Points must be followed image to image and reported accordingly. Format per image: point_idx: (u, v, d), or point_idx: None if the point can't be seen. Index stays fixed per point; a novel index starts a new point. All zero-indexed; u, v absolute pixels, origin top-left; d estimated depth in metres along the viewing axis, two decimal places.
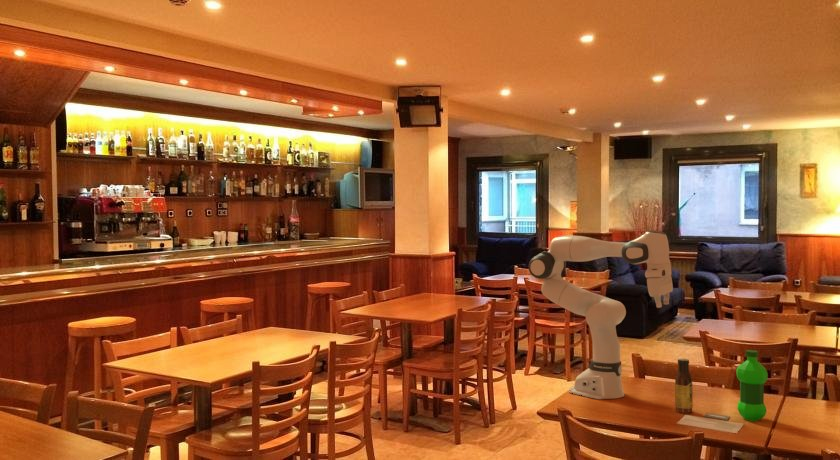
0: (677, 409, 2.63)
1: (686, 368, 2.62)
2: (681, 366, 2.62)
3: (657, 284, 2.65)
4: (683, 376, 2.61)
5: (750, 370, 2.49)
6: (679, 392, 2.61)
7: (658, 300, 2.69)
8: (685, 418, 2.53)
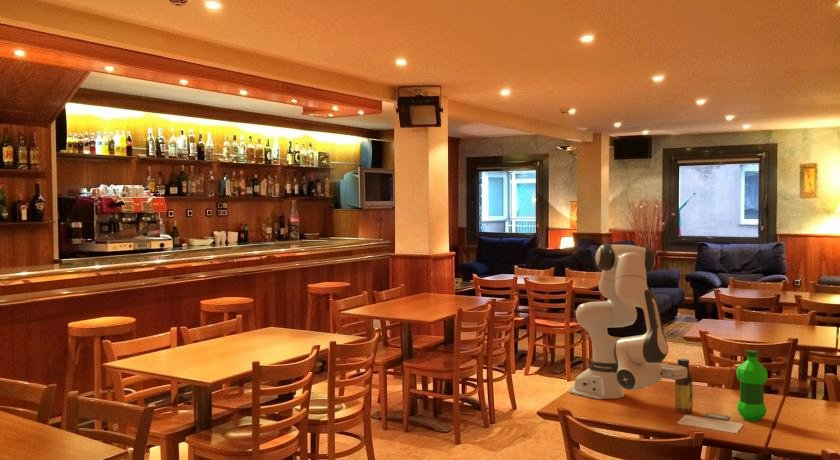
0: (677, 409, 2.63)
1: None
2: None
3: None
4: None
5: (750, 370, 2.49)
6: (679, 392, 2.61)
7: None
8: (685, 418, 2.53)
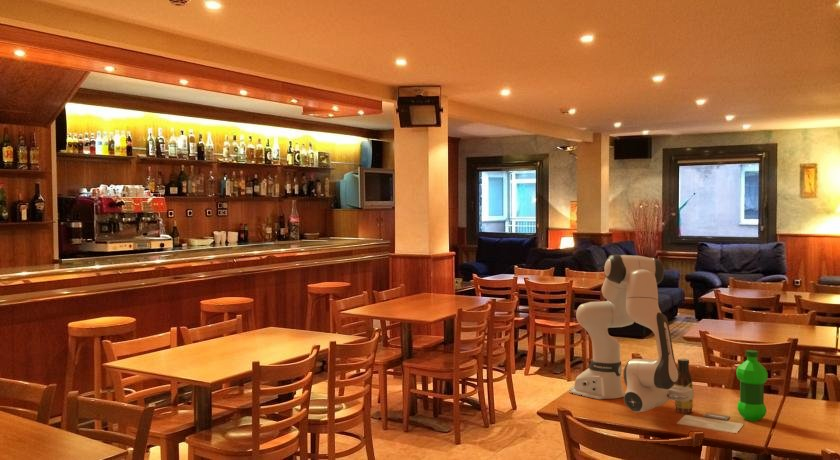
0: (677, 409, 2.63)
1: (686, 368, 2.62)
2: (681, 366, 2.62)
3: None
4: (683, 376, 2.61)
5: (750, 370, 2.49)
6: None
7: None
8: (685, 418, 2.53)
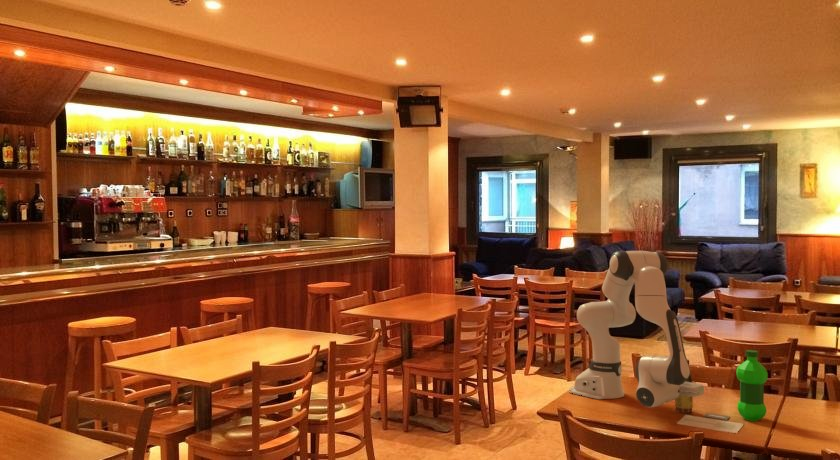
0: (677, 409, 2.63)
1: None
2: None
3: None
4: None
5: (750, 370, 2.49)
6: None
7: None
8: (685, 418, 2.53)
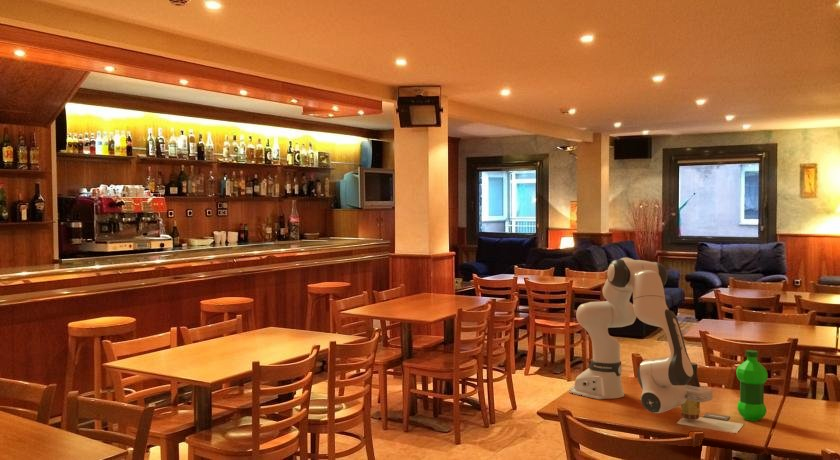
0: (683, 415, 2.50)
1: (694, 372, 2.49)
2: None
3: None
4: (691, 381, 2.49)
5: (750, 370, 2.49)
6: None
7: None
8: (685, 418, 2.53)
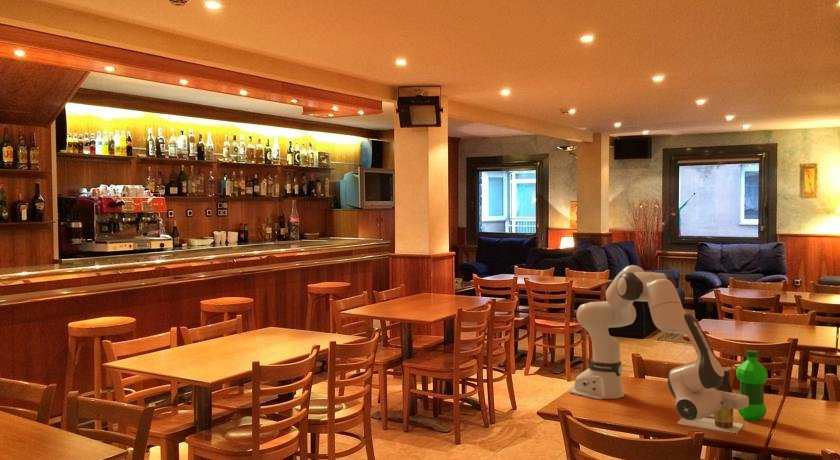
0: (717, 423, 2.44)
1: (726, 379, 2.43)
2: None
3: None
4: (723, 388, 2.42)
5: (750, 370, 2.49)
6: None
7: None
8: None
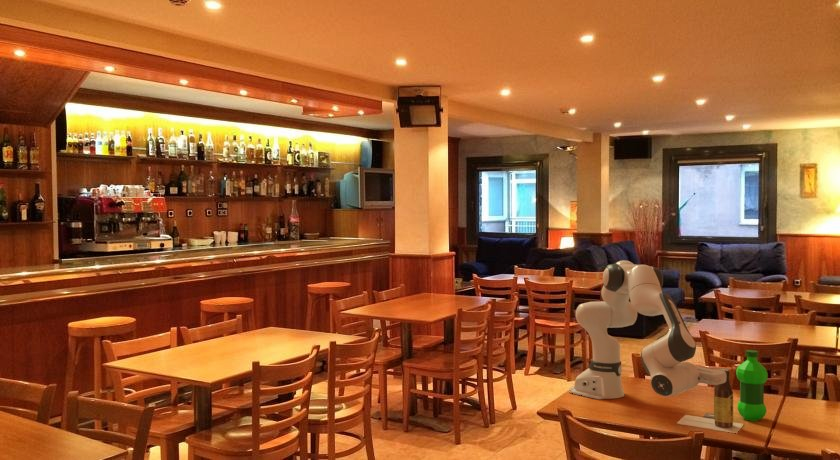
0: (717, 423, 2.44)
1: (726, 379, 2.43)
2: None
3: None
4: (723, 388, 2.43)
5: (750, 370, 2.49)
6: (719, 405, 2.43)
7: None
8: (685, 418, 2.53)
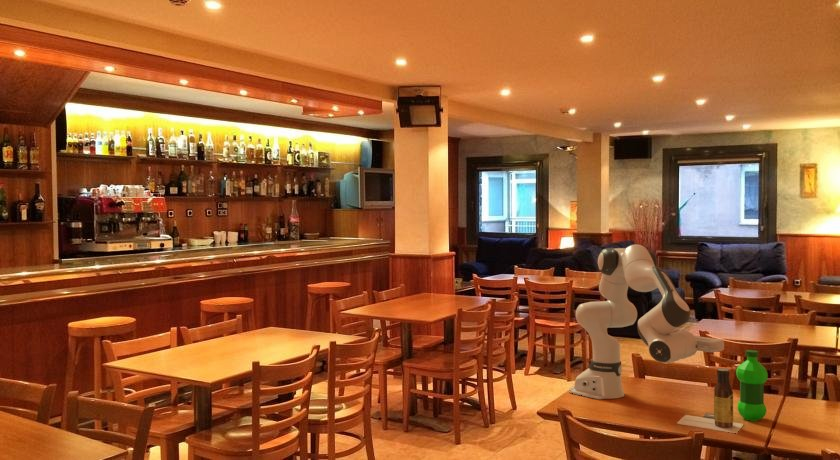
0: (717, 423, 2.44)
1: (726, 379, 2.43)
2: (721, 377, 2.44)
3: None
4: (723, 388, 2.43)
5: (750, 370, 2.49)
6: (719, 405, 2.43)
7: None
8: (685, 418, 2.53)
